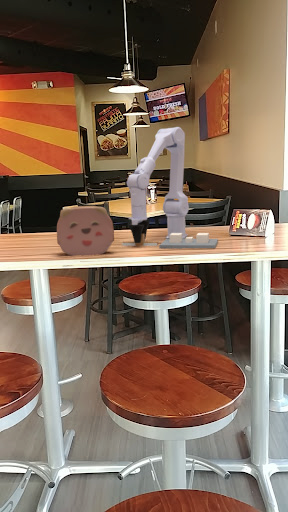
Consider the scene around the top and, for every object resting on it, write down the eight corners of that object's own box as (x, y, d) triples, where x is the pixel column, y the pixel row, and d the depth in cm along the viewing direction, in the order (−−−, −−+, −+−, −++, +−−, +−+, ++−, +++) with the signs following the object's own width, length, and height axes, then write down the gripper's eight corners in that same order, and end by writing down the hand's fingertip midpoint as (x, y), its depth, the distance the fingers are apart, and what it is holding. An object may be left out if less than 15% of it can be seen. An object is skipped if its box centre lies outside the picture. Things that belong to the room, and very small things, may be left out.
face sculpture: (57, 257, 152) (53, 208, 149) (59, 253, 159) (55, 207, 156) (115, 254, 153) (112, 206, 150) (114, 250, 160) (112, 204, 157)
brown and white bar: (124, 244, 173) (123, 233, 172) (158, 244, 169) (158, 233, 169) (121, 245, 170) (121, 234, 169) (157, 245, 166) (156, 234, 166)
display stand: (166, 241, 174) (166, 231, 173) (217, 241, 169) (217, 231, 168) (159, 248, 161) (159, 236, 160) (214, 248, 156) (214, 237, 155)
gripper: (133, 204, 174) (135, 238, 177) (123, 207, 161) (124, 244, 163) (150, 203, 173) (152, 238, 175) (141, 207, 159) (143, 244, 162)
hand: (140, 241), depth 169 cm, fingers open, 7 cm apart
